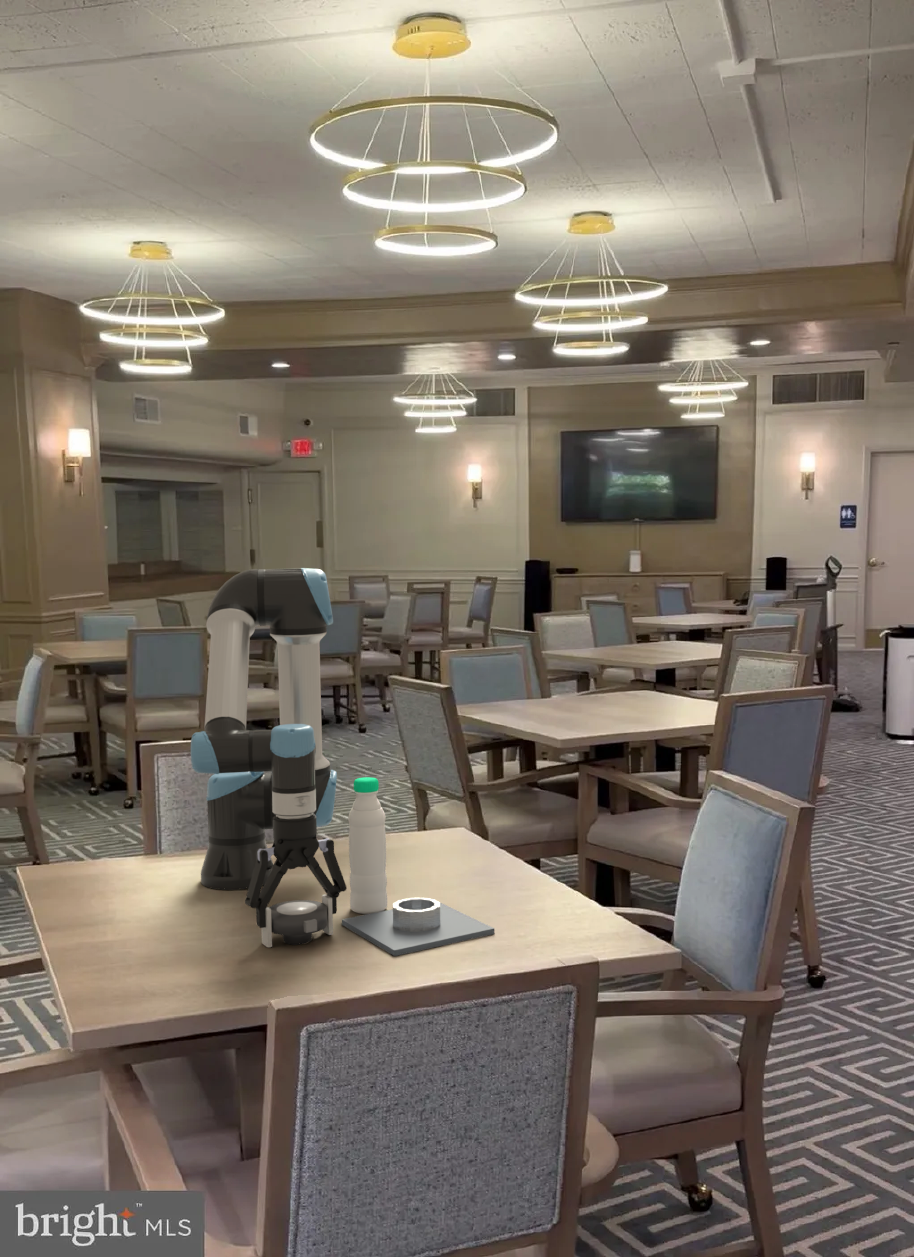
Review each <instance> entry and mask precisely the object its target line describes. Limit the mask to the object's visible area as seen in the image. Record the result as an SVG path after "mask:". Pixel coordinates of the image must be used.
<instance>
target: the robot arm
mask: <svg viewBox="0 0 914 1257" xmlns="http://www.w3.org/2000/svg"><path fill="white" fill-rule="evenodd" d="M327 579H328V578H327V574H326V572H324V571H323V570H322V569H319V568H311V567H310V568H307V567H293V568H266V569H264V568H263V569H262V568H261V569H259V568H251V569H247V570H246V569H245V570H243V571H241V572H239V573H237V574H235V575H234V576H232V577H230V579H228V580H226V582H224V584H223V585H222V586H221V587H220V588H219V589H218V591H217V592H216V593H215V595H214V596H213V598H212V600H211V602H210V604H209V606H208V610H207V614H206V624H205V625H206V630H207V632H208V634H210V643H209V644H210V645H209V658H208V671H207V672H208V674H207V686H206V687H207V688H206V702H205V715H204V730H201V731H199V732H198V731H196V732H194V733H193V734H192V735H191V739H190V763H191V768H192V769H193V771H194V772H195V773H197V774H207V775H208V774H211V776H210V777H209V778H208V779H207V782H206V783H207V786H206V787H207V788H206V790H207V791H206V796H205V798H206V800H205V801H207V833H208V837H207V838H208V845H207V846H208V847H207V848H206V849H207V850H206V854H205V856H204V861H203V864H202V867H201V870H200V883H201V885H203V886H204V887H206V888H209V889H213V890H226V891H231V890H232V891H233V890H245V889H247V893H246V896H245V900H244V903H245V905H246V906H248V907H250V908H252V909H255V914H256V915H255V916H256V917H255V919H256V920H255V921H256V926H257V927H258V928H260V929H261V944H262V945H264V947H266V948H271V947H272V948H273V933H272V927H271V909H270V908H269V907H268V905H269V903H270V902H271V900H272V898H273V896H274V894H275V892H276V890H277V888H278V886H279V885H280V882H282V881H281V880H282V879H283V876H284V875H286V874H287V872H288V870H294V869H297V868H306V867H308V869H309V871H310V872H311V873H312V875H313V876H314V877H315V879H316V880H317V881H318V884H320V886H321V888H322V889H323V890H324V892H325V893H326V894H322V895H321V903H323V904H325V905H326V906H327V926H326V928H324V929H323V930H322V932H323V933H325V934H327V935H328V936H330V935H331V936H332V935H333V934H334V924H333V923H334V922H333V921H334V920H333V918H334V917H333V915H335V914H337V910H338V908H337V907H338V906H337V905H338V904H337V899H338V897H340V893H341V892H345V891H347V885H346V882H345V880H344V876H343V873H342V871H341V868H340V866H339V862H338V860H337V856H336V854H335V841H334V840H333V839H330V838H329V837H323V838H322V839H318V838H317V834H318V833H317V832H318V830H317V829H318V828H320V827H326V826H328V825H329V824H330V823H332V821H333V816H334V808H335V802H336V801H335V800H336V790H337V781H338V780H337V779H338V773H337V771H336V770H334V769H331V762H330V760H328V758H326V757H325V756H324V754H323V732H322V730H323V729H322V726H323V725H322V697H321V695H322V694H321V693H322V692H321V691H322V690H321V688H322V687H321V655H320V654H321V653H320V650H321V649H320V646H321V645H320V642H321V640H322V639H323V638H324V637H325V636H326V635H327V632H328V631H327V629H328V628H327V626H330V625H333V624H334V617H333V611H332V604H331V599H330V598H331V597H330V590H329V585H328V580H327ZM257 626H258V627H259V626H260V627H263V626H264V627H266V626H267V627H269V636H270V637H272V639H274V641H276V643H277V660H278V662H277V668H278V669H277V671H278V701H279V702H278V703H279V725H276V726H274V727H273V728H272V729H260V730H259V729H257V730H254V729H253V730H252V729H251V730H250V729H249V730H247V720H248V719H247V717H248V715H247V714H248V693H249V692H248V689H249V665H250V644H251V643H250V641H251V640H250V638H251V637H252V635H254V632H255V630H256V627H257ZM265 772H266V773H265ZM266 830H272V836H273V843H272V845H271V847H268V846H267V843H266ZM318 850H320V851H321V852H322V856H323V858H324V860H325V863H326V866H327V868H328V872H329V875H330V877H331V880H332V881H331V880H330V879H329V877H328V876H327V874H326V873H325V871H324V870H323V869H322V867H321V866H320V863H319V862H318V861H317V859H316V857H315V855H316V853H317V851H318ZM272 856H274V857H275V858H276V859H275V861H274V862H273V859H272Z"/></svg>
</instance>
